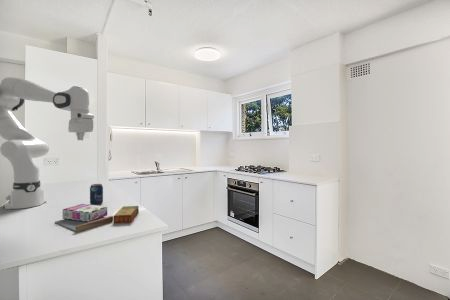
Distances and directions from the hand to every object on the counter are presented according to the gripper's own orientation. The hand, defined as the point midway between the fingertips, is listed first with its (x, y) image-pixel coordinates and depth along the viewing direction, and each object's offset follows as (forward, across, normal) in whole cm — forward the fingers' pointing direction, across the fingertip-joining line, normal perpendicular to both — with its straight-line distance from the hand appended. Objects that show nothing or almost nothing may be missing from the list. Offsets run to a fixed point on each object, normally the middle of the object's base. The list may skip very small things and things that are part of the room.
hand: (80, 140), depth 124 cm
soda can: (+39, -2, +10) cm, 41 cm away
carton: (+40, +35, +5) cm, 53 cm away
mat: (+39, +23, -10) cm, 47 cm away
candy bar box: (+36, +12, -9) cm, 39 cm away
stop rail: (+39, +34, -10) cm, 53 cm away
